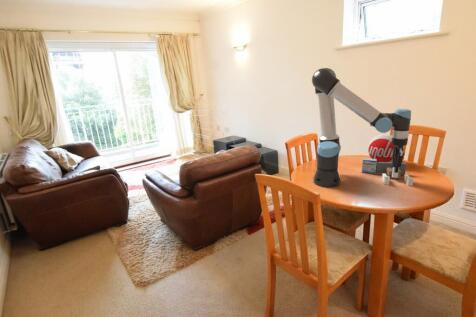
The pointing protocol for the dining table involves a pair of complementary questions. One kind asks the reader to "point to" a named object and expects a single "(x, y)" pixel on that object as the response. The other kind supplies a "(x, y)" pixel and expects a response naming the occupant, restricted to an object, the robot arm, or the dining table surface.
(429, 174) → the dining table surface
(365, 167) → the medicine box
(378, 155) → the decorative sphere
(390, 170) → the block
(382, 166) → the block
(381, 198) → the dining table surface
